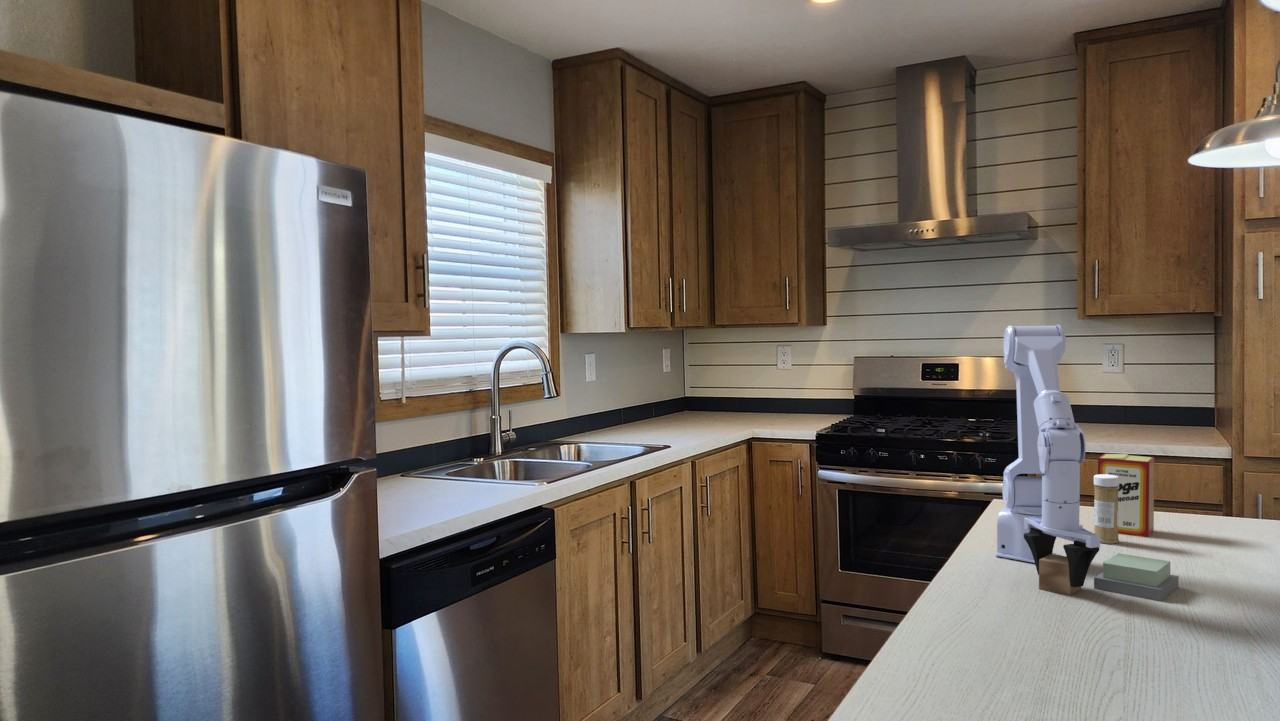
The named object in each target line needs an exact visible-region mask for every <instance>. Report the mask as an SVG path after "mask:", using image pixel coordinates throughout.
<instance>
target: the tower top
mask: <svg viewBox="0 0 1280 721" xmlns="http://www.w3.org/2000/svg"><path fill="white" fill-rule="evenodd" d="M1102 568H1103V569H1102V570H1103V571H1102V572H1103V578H1108V579H1114V580H1120V581H1125V582H1131V583H1137V584H1143V585H1148V586H1154V587H1157V586H1158V585H1160V584H1161V583H1162V582H1163V581H1165V580H1166V579H1167V578H1168V577H1170V575H1171V561H1170V560H1163V559H1159V558H1151V557H1145V556H1139V555H1131V554H1126V553H1120V552H1118V553H1116V554H1115V555H1113V556H1112V557H1110V558H1109V559H1107V560H1106V561H1104V562H1103V565H1102Z"/></svg>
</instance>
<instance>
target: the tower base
mask: <svg viewBox="0 0 1280 721" xmlns="http://www.w3.org/2000/svg"><path fill="white" fill-rule="evenodd" d="M1178 588H1179V575H1175V574H1170V577H1168V578H1167V579H1166V580H1165V581H1163V582H1162V583H1161V584H1160V585H1158V586H1157V587H1154V586H1148V585H1143V584H1137V583H1131V582H1125V581H1120V580H1114V579H1108V578H1103V571H1102V572H1100V573H1099V574H1098V575H1096V576H1094V577H1093V589H1095V590H1100V591H1106V592H1112V593H1116V594H1121V595H1122V594H1123V595H1125V596H1126V595H1127V596H1131V597H1132V596H1133V597H1138V598H1143V599H1147V600H1152V601H1158V602H1161V601H1162V600H1164V599H1165V598H1166V597H1168V596H1169V595H1170V594H1172V593H1173V592H1174V591H1176V590H1177V589H1178Z"/></svg>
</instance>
